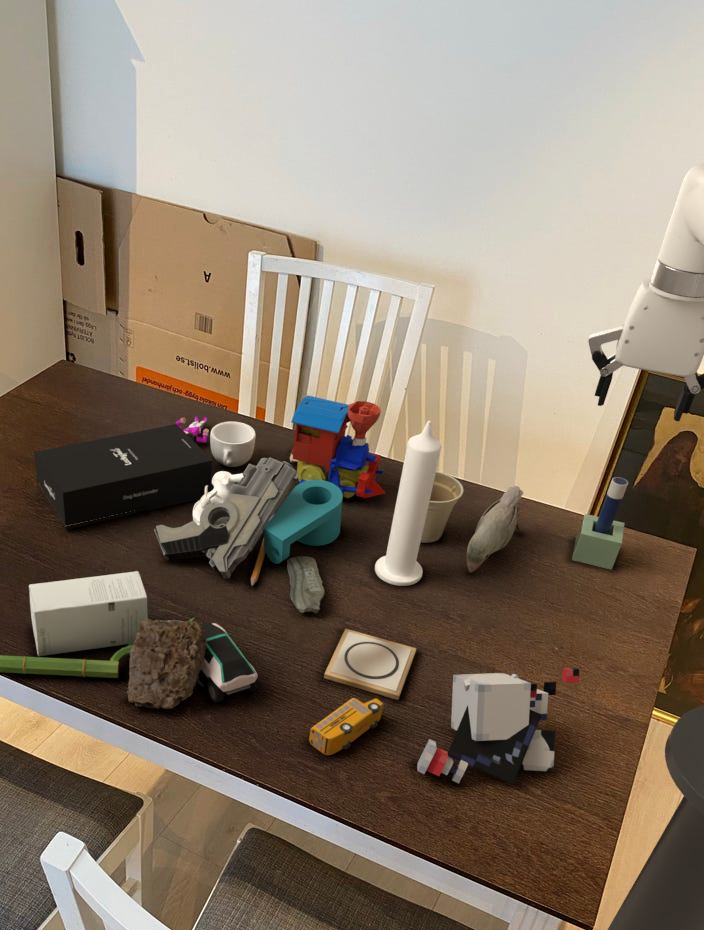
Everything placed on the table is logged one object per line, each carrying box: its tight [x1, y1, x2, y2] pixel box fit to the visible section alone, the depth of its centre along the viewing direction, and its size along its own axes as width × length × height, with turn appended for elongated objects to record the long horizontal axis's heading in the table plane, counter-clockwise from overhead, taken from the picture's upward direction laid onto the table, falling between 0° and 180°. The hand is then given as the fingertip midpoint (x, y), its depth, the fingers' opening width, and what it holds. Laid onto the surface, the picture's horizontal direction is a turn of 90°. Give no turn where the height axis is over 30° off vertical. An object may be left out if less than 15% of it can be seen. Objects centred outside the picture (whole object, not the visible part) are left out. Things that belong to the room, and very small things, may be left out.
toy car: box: [199, 622, 259, 703], centre depth 120 cm, size 6×12×5 cm, turn 27°
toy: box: [416, 667, 580, 786], centre depth 112 cm, size 12×17×15 cm
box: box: [33, 423, 213, 531], centre depth 151 cm, size 25×14×7 cm, turn 117°
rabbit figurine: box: [192, 470, 244, 525], centre depth 144 cm, size 12×8×10 cm, turn 149°
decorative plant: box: [0, 616, 205, 688], centre depth 121 cm, size 6×8×30 cm
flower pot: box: [420, 470, 464, 544], centre depth 146 cm, size 9×9×9 cm
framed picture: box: [323, 628, 417, 701], centre depth 124 cm, size 10×10×1 cm
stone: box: [286, 555, 325, 614], centre depth 136 cm, size 12×2×5 cm
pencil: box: [250, 513, 275, 587], centre depth 143 cm, size 1×1×19 cm
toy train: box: [290, 394, 386, 499], centre depth 153 cm, size 10×16×15 cm, turn 68°
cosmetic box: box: [28, 570, 149, 657], centre depth 124 cm, size 8×6×15 cm
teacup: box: [209, 421, 257, 468], centre depth 160 cm, size 10×8×5 cm
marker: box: [594, 476, 629, 535], centre depth 142 cm, size 2×2×13 cm
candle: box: [374, 420, 442, 587], centre depth 132 cm, size 7×7×25 cm
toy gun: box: [153, 457, 299, 580], centre depth 140 cm, size 4×21×15 cm
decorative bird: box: [466, 485, 524, 573], centre depth 144 cm, size 5×16×8 cm, turn 147°
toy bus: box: [308, 697, 384, 756], centre depth 114 cm, size 3×10×4 cm
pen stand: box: [571, 513, 626, 571], centre depth 145 cm, size 6×6×5 cm
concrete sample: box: [126, 618, 207, 710], centre depth 117 cm, size 12×10×5 cm
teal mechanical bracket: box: [263, 480, 344, 565], centre depth 143 cm, size 7×15×8 cm
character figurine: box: [175, 415, 210, 444], centre depth 166 cm, size 6×5×12 cm
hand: (638, 409), depth 124 cm, fingers open, 9 cm apart
